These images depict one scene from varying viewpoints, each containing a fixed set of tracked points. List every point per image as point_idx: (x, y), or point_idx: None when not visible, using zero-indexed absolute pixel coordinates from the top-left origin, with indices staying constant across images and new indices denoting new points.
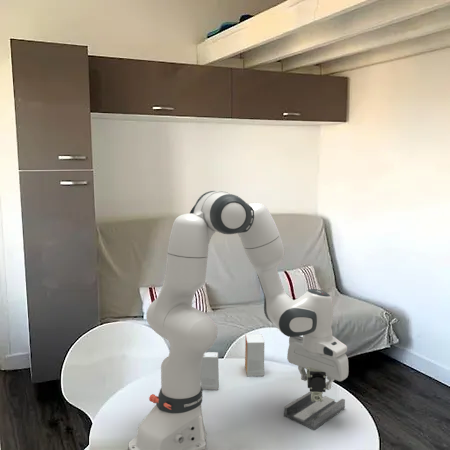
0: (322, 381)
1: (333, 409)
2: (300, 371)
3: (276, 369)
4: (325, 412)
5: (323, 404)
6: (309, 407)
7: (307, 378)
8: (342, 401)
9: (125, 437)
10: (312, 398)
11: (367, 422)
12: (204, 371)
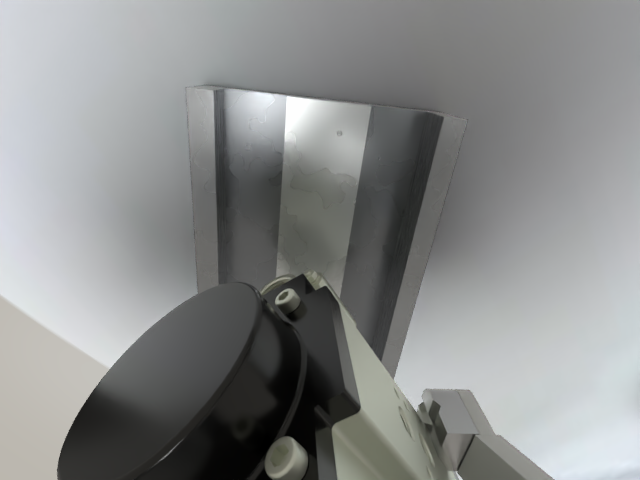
0: (84, 437)
1: None
2: (526, 470)
3: (608, 437)
4: (198, 236)
5: None
6: (336, 255)
7: (385, 404)
8: None
9: None
10: (315, 285)
11: (62, 330)
12: None
